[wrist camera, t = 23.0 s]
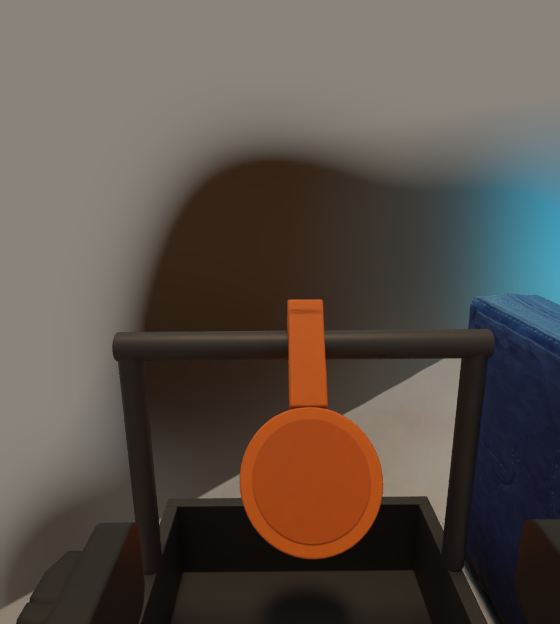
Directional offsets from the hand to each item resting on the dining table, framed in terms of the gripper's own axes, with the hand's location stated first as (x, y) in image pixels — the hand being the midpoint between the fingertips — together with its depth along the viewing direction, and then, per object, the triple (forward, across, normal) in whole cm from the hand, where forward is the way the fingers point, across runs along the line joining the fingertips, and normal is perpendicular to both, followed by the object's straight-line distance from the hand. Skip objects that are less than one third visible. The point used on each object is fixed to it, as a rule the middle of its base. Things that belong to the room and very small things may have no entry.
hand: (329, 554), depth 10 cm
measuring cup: (+16, 0, +7) cm, 18 cm away
